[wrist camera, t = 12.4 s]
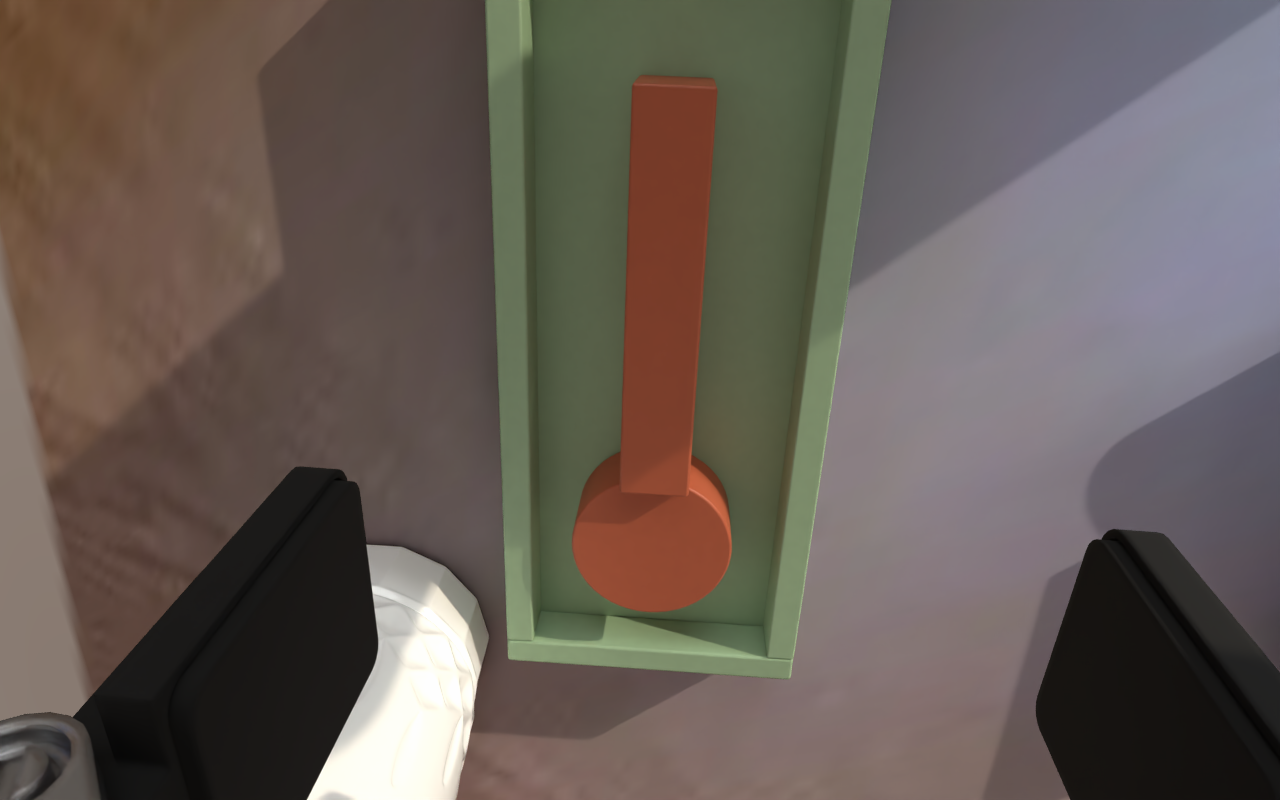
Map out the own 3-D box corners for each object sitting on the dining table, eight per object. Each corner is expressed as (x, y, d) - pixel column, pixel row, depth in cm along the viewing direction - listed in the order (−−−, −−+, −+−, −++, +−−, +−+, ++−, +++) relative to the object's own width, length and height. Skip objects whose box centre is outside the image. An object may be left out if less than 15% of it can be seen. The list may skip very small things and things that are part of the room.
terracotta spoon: (584, 72, 20) (569, 79, 18) (770, 80, 20) (780, 88, 17) (579, 566, 26) (568, 619, 24) (722, 576, 26) (725, 630, 23)
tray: (497, -171, 18) (477, -191, 17) (896, -158, 18) (918, -175, 16) (519, 619, 27) (507, 660, 26) (784, 638, 27) (790, 680, 25)
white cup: (503, 533, 26) (402, 813, 17) (510, 723, 29) (428, 1042, 20) (253, 517, 26) (21, 783, 17) (288, 707, 30) (109, 1014, 20)
